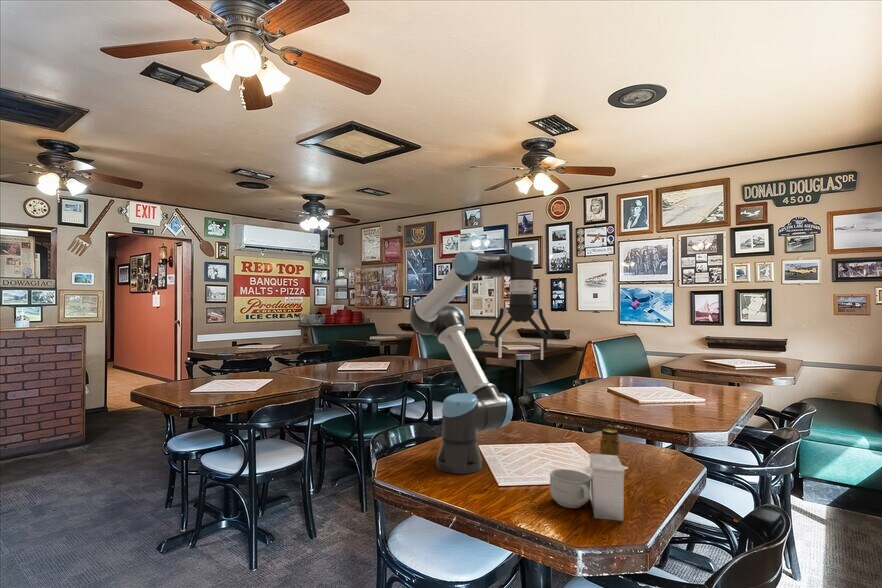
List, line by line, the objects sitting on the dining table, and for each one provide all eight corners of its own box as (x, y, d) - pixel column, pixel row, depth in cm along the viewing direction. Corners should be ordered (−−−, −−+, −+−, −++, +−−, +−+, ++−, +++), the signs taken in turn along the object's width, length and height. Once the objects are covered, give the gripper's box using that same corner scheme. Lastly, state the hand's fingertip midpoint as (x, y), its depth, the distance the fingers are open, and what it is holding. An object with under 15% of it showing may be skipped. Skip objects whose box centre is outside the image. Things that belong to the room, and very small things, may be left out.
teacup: (544, 495, 131) (544, 467, 132) (581, 495, 132) (581, 467, 133) (561, 518, 118) (561, 486, 118) (602, 517, 119) (602, 486, 119)
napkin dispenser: (593, 518, 118) (593, 468, 118) (589, 498, 130) (589, 453, 130) (624, 521, 116) (624, 471, 117) (617, 501, 128) (617, 455, 129)
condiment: (606, 461, 162) (606, 426, 162) (629, 468, 155) (629, 432, 155) (594, 465, 157) (594, 430, 157) (617, 473, 150) (617, 436, 151)
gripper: (481, 292, 150) (481, 358, 150) (561, 293, 145) (560, 361, 144) (485, 293, 158) (484, 355, 157) (560, 294, 152) (559, 358, 152)
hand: (520, 358), depth 151 cm, fingers open, 13 cm apart
